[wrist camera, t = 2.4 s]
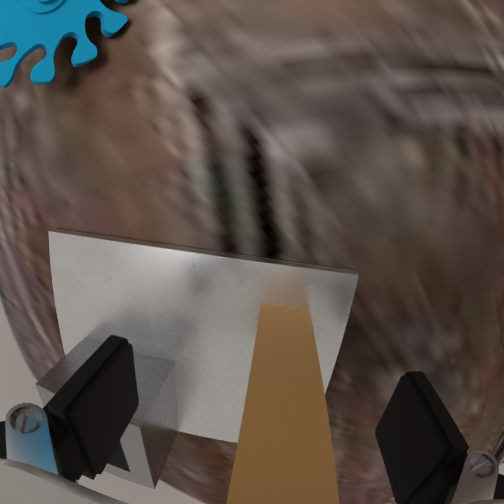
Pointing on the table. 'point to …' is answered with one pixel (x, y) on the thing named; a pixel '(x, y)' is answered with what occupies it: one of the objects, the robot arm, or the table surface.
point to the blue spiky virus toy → (51, 32)
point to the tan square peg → (284, 418)
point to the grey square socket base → (181, 330)
